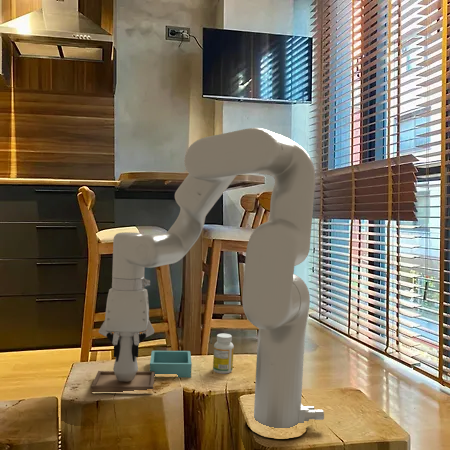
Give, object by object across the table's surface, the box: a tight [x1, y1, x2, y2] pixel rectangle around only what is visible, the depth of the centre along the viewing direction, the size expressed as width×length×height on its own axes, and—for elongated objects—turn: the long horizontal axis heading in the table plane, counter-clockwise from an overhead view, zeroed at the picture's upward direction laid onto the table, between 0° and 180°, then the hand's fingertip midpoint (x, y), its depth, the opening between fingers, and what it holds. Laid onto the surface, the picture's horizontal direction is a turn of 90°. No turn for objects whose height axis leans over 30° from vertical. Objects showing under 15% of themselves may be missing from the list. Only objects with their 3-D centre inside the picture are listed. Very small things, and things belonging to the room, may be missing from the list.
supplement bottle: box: [212, 333, 235, 375], centre depth 131 cm, size 5×5×10 cm
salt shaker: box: [112, 332, 139, 382], centre depth 117 cm, size 6×6×13 cm
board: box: [90, 370, 155, 393], centre depth 117 cm, size 14×10×2 cm
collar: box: [149, 350, 193, 378], centre depth 129 cm, size 11×11×4 cm
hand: (125, 359), depth 117 cm, fingers closed on salt shaker, 3 cm apart
